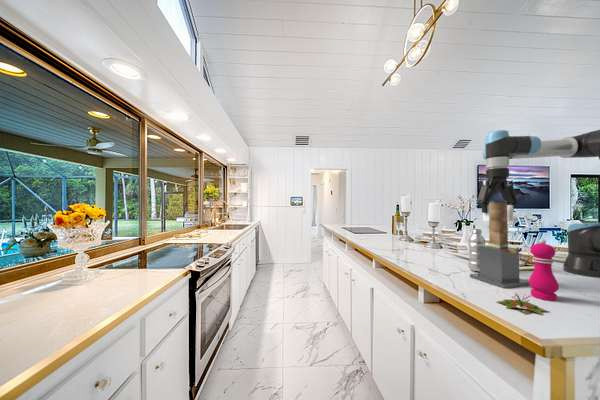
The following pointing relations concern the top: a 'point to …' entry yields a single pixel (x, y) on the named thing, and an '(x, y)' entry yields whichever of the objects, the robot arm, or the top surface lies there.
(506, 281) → the sleeve
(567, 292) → the top surface
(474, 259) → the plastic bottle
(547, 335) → the top surface
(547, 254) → the pepper mill
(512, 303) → the lily flower
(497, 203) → the column
